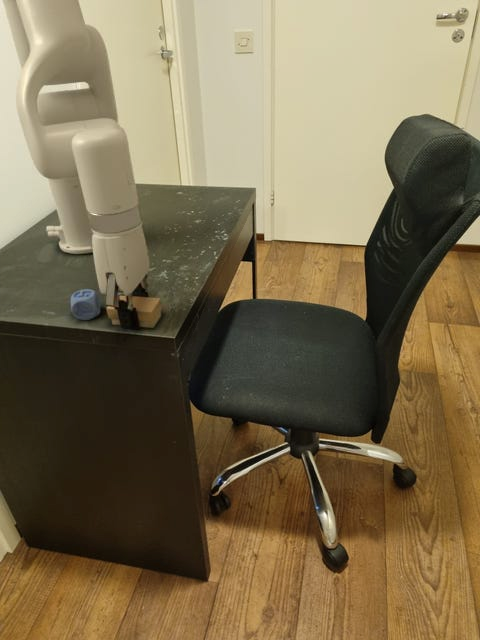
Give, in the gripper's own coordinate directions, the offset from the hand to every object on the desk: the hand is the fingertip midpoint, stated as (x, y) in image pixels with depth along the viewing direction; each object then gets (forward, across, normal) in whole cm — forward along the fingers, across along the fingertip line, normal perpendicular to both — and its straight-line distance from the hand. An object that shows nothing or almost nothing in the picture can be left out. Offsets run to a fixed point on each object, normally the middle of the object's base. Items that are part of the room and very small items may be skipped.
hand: (136, 318), depth 80 cm
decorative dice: (0, 0, -9) cm, 9 cm away
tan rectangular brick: (0, 0, 0) cm, 0 cm away
